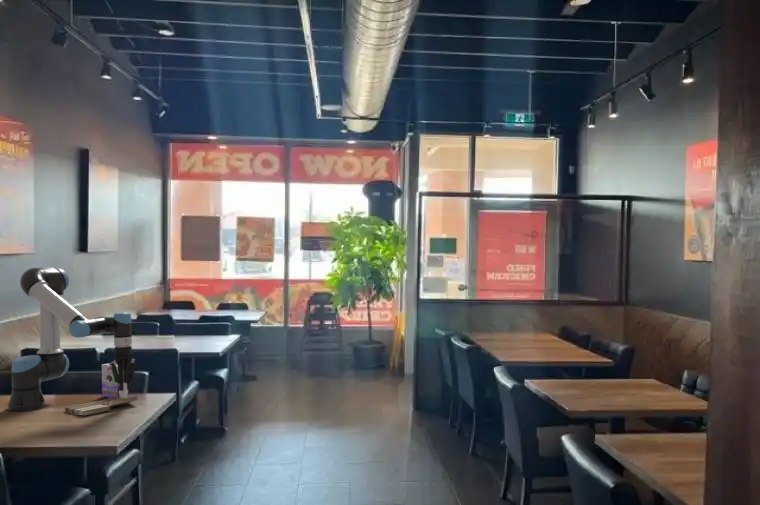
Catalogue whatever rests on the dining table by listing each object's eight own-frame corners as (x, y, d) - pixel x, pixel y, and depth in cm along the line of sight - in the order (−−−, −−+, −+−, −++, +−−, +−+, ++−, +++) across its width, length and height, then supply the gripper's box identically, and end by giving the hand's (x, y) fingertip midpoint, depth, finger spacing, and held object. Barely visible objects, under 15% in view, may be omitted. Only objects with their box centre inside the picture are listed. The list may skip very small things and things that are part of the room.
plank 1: (74, 414, 281) (74, 409, 281) (100, 408, 290) (100, 404, 290) (83, 415, 276) (83, 410, 276) (109, 410, 285) (109, 405, 285)
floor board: (65, 411, 285) (64, 407, 285) (121, 400, 306) (121, 396, 306) (72, 414, 281) (72, 409, 281) (129, 402, 301) (129, 398, 301)
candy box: (128, 398, 312) (128, 364, 312) (118, 400, 307) (118, 366, 307) (111, 394, 319) (111, 362, 320) (101, 397, 314) (100, 364, 315)
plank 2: (105, 407, 292) (104, 403, 292) (129, 403, 301) (128, 398, 301) (113, 404, 287) (113, 400, 287) (138, 399, 296) (137, 395, 296)
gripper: (113, 348, 285) (114, 400, 285) (140, 345, 295) (141, 395, 295) (105, 347, 290) (106, 398, 290) (132, 344, 300) (133, 393, 300)
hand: (124, 397), depth 292 cm, fingers closed
